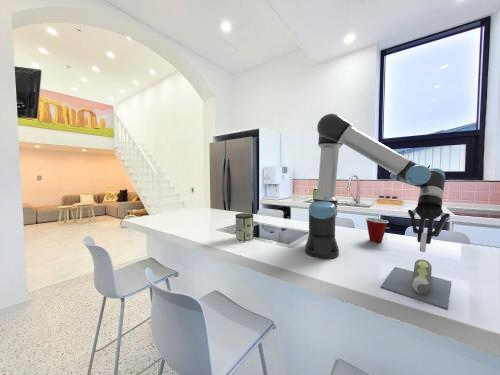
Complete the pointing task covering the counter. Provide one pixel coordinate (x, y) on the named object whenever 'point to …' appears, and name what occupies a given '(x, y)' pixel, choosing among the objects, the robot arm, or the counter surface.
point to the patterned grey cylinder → (422, 276)
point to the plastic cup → (376, 229)
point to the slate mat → (403, 284)
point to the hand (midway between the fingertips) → (422, 250)
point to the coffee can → (244, 227)
